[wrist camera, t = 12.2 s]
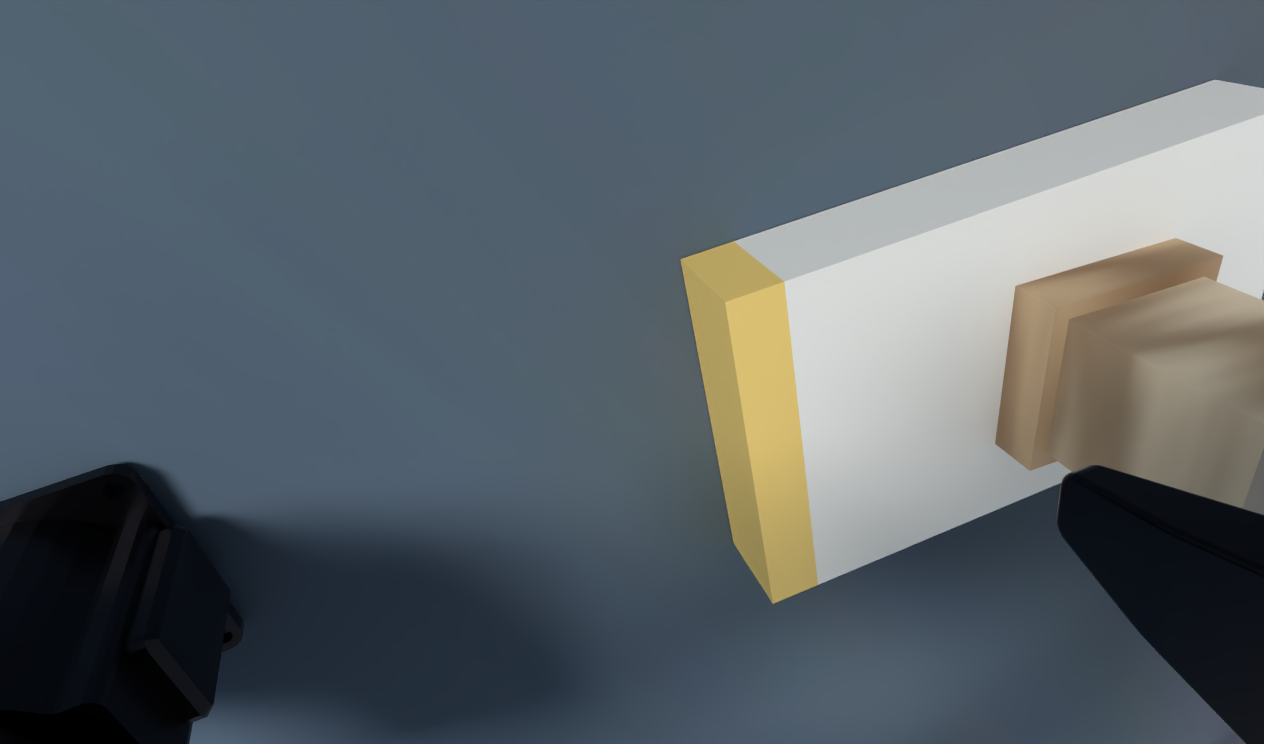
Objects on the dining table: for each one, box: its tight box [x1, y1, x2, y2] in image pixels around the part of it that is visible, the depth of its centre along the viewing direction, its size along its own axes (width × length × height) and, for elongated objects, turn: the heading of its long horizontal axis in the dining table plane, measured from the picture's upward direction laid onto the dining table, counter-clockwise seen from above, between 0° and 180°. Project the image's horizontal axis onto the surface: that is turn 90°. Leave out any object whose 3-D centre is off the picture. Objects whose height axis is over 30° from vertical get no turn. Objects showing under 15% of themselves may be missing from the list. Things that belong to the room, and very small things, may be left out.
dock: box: [681, 80, 1264, 604], centre depth 25 cm, size 18×11×3 cm, turn 102°
